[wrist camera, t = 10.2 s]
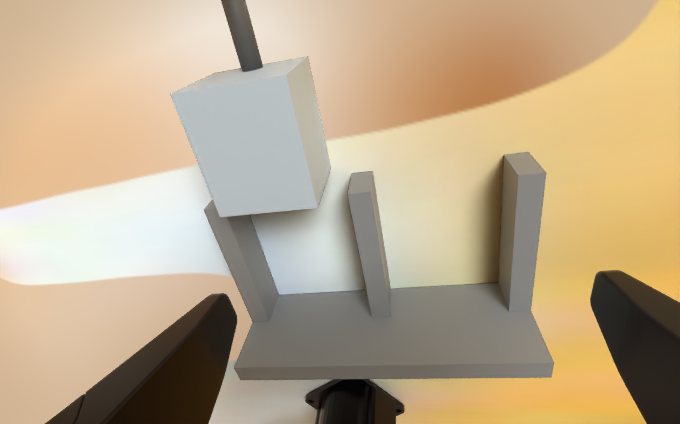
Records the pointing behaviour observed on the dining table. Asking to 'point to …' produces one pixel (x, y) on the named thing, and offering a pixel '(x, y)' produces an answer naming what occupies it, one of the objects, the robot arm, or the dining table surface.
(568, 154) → the dining table surface
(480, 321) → the lane rack
